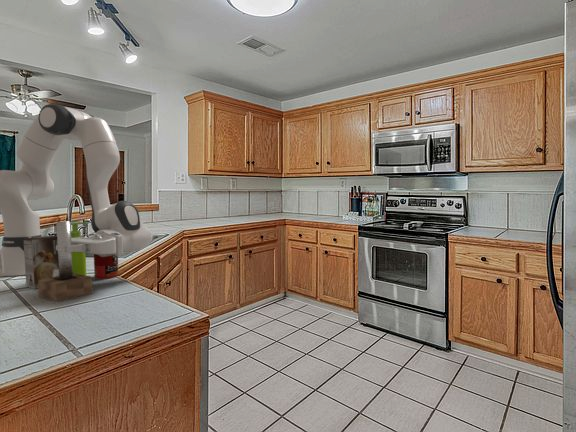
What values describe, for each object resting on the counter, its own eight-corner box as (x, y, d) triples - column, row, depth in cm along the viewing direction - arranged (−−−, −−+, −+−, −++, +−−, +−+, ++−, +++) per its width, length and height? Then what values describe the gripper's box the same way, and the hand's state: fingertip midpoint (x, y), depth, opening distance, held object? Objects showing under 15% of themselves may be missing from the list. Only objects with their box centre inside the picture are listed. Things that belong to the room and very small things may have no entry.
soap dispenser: (91, 276, 127) (89, 222, 126) (70, 279, 122) (68, 223, 120) (86, 273, 131) (84, 221, 130) (65, 277, 126) (63, 222, 124)
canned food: (108, 279, 122) (107, 248, 121) (89, 278, 123) (88, 248, 123) (123, 274, 129) (122, 245, 128) (104, 273, 131) (103, 245, 130)
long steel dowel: (57, 282, 103) (54, 222, 101) (69, 279, 105) (66, 221, 104) (63, 283, 101) (60, 222, 100) (75, 280, 104) (72, 221, 103)
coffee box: (56, 280, 120) (54, 235, 119) (65, 283, 117) (63, 236, 116) (25, 286, 113) (22, 237, 112) (34, 289, 109) (31, 239, 108)
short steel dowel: (50, 287, 112) (49, 268, 112) (61, 284, 115) (60, 266, 115) (55, 288, 110) (55, 270, 110) (67, 285, 113) (66, 268, 113)
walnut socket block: (39, 296, 102) (38, 279, 101) (73, 288, 110) (73, 273, 110) (57, 301, 97) (56, 284, 96) (92, 292, 105) (91, 276, 105)
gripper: (87, 231, 119) (42, 236, 107) (125, 234, 109) (80, 240, 97) (87, 250, 119) (43, 256, 107) (125, 254, 109) (81, 262, 97)
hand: (61, 248), depth 102 cm, fingers closed on long steel dowel, 3 cm apart
